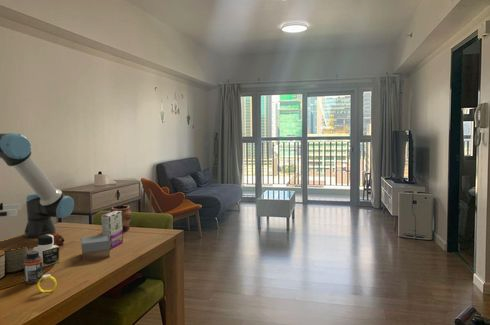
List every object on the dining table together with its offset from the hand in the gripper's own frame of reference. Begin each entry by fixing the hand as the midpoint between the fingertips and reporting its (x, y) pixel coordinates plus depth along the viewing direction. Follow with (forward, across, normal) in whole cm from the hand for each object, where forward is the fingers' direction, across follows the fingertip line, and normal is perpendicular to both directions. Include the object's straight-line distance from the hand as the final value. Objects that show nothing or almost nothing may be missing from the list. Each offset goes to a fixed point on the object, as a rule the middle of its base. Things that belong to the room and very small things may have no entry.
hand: (19, 209), depth 151 cm
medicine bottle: (+9, 0, -24) cm, 26 cm away
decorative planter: (+45, -40, -24) cm, 65 cm away
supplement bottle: (+6, +20, -24) cm, 32 cm away
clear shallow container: (+29, -1, -24) cm, 38 cm away
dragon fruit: (+10, -20, -24) cm, 33 cm away
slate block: (+29, -1, -20) cm, 35 cm away
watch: (+11, +33, -25) cm, 42 cm away
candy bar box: (+38, -13, -24) cm, 46 cm away
